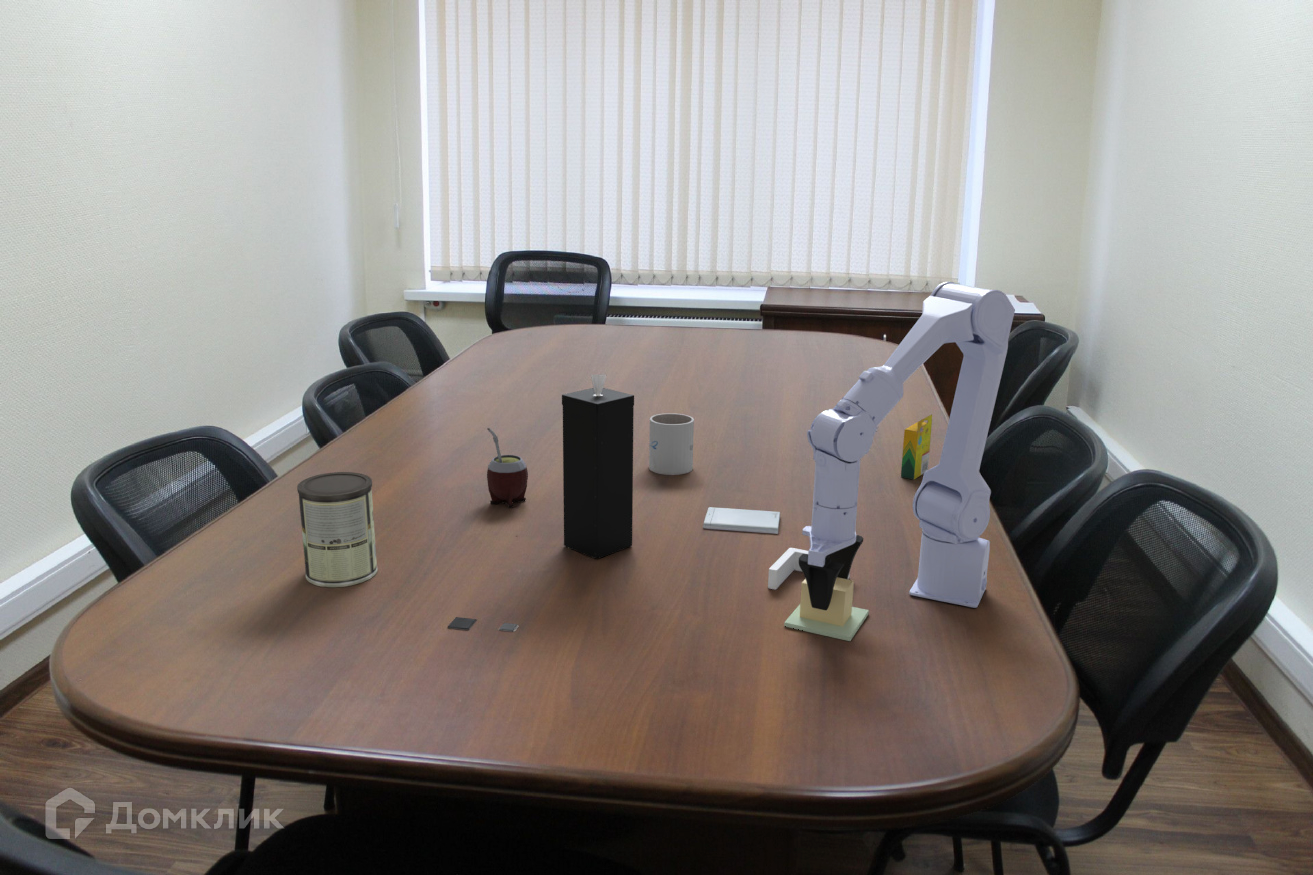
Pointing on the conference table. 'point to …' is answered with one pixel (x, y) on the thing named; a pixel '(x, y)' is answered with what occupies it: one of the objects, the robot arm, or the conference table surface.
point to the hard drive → (742, 520)
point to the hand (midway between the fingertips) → (828, 597)
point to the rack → (785, 567)
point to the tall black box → (598, 469)
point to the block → (838, 605)
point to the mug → (671, 443)
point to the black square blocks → (468, 623)
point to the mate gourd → (506, 477)
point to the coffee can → (338, 529)
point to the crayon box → (916, 449)
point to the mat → (826, 628)
